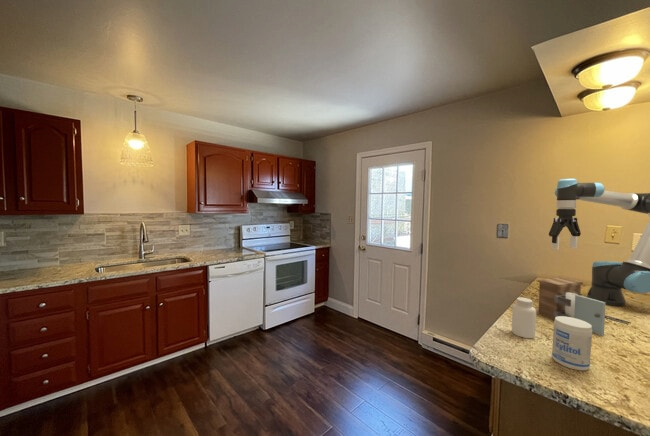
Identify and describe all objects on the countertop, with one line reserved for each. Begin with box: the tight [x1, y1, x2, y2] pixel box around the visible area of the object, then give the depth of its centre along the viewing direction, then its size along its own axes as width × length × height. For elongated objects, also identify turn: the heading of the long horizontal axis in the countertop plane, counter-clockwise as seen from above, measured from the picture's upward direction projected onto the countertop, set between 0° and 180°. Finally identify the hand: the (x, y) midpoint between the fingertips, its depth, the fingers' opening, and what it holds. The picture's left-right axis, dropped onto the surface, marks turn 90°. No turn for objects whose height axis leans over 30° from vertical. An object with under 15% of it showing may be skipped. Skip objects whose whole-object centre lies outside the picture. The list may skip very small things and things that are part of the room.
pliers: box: [605, 314, 632, 325], centre depth 131 cm, size 10×1×20 cm
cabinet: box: [537, 276, 584, 321], centre depth 128 cm, size 18×14×17 cm
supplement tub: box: [551, 316, 593, 371], centre depth 90 cm, size 10×10×15 cm
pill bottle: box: [511, 297, 537, 339], centre depth 111 cm, size 8×8×15 cm
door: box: [565, 292, 606, 337], centre depth 116 cm, size 4×14×14 cm, turn 16°
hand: (564, 248), depth 139 cm, fingers open, 13 cm apart
